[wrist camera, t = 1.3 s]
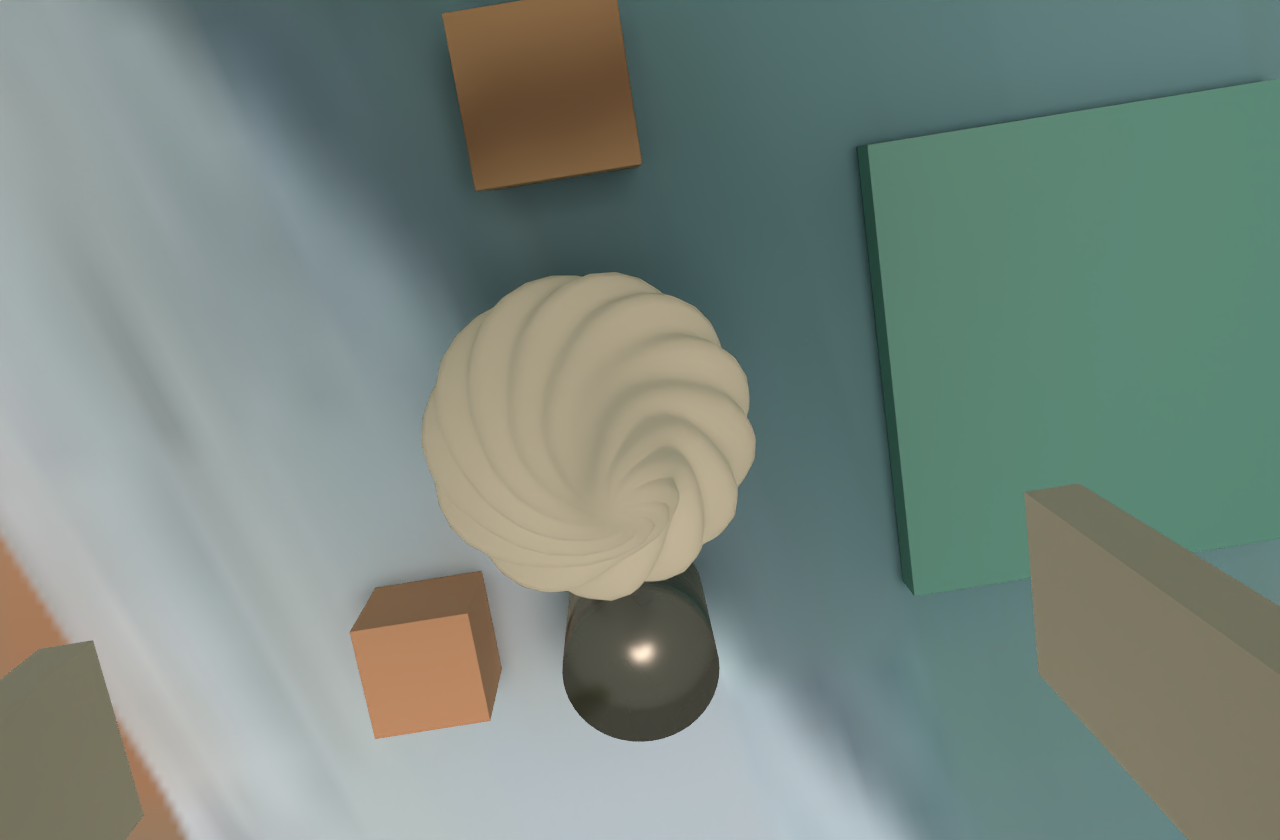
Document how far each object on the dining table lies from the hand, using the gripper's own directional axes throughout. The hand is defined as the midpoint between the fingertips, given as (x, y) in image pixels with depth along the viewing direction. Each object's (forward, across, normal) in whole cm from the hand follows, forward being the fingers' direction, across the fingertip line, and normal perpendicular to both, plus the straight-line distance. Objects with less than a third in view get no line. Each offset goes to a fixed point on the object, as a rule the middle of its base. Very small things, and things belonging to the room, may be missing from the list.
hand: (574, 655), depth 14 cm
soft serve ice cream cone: (+23, 0, 0) cm, 23 cm away
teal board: (+23, +17, -2) cm, 29 cm away
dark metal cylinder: (+23, 0, -9) cm, 25 cm away
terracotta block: (+23, -7, -9) cm, 26 cm away
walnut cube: (+23, 0, +9) cm, 25 cm away
